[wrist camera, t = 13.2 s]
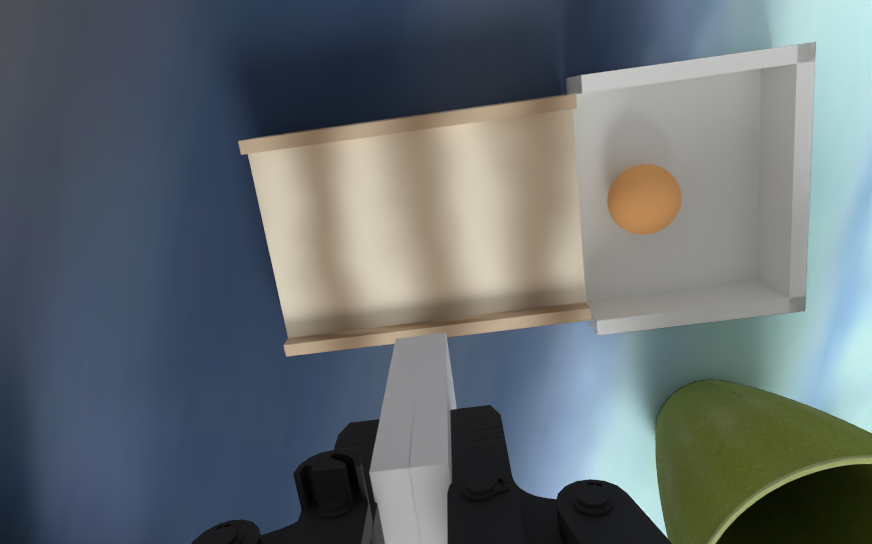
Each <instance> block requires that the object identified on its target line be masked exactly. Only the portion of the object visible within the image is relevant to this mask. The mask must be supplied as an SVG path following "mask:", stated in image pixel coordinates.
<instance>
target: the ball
mask: <svg viewBox="0 0 872 544" xmlns="http://www.w3.org/2000/svg"><path fill="white" fill-rule="evenodd" d="M681 200H682V196H681V190H680V187H679V184H678V182H677V180H676V179H675V177H674V176H673V175H672V174H671V173H670V172H668V171H667V170H665V169H664V168H662V167H659V166H656V165H652V164H640V165H636V166H632V167H630V168H628V169H626V170H624V171H623V172H622V173H620V174H619V175H618V176H617V177H616V178H615V180H614V181H613V183H612V184H611V186H610V189H609V192H608V198H607V204H608V210H609V213H610V215H611V217H612V219H613V220H614V221H615V223H616V224H617V225H618V226H620V227H621V228H622V229H624V230H626V231H628V232H630V233H634V234H640V235H646V234H652V233H656V232H658V231H660V230H662V229H664V228H666V227H667V226H668V225H669V224H670V223H671V222H672V221H673V220H674V219H675V217H676V216H677V214H678V212H679V209H680V206H681Z"/></svg>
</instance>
